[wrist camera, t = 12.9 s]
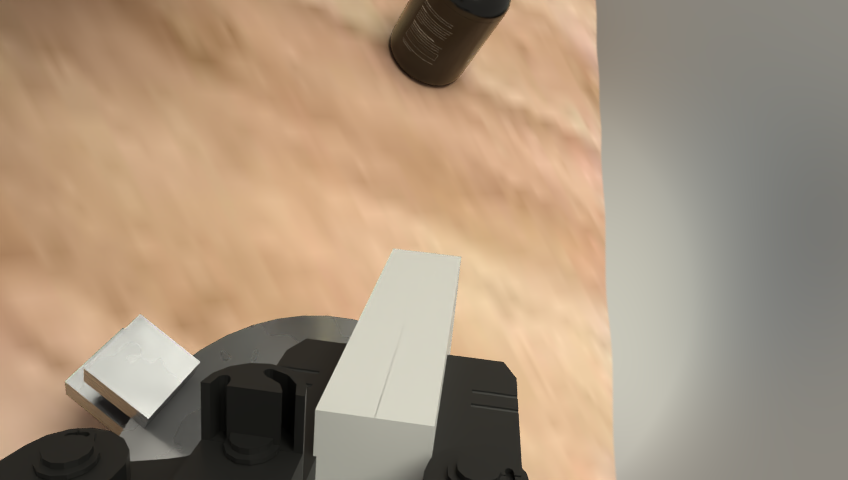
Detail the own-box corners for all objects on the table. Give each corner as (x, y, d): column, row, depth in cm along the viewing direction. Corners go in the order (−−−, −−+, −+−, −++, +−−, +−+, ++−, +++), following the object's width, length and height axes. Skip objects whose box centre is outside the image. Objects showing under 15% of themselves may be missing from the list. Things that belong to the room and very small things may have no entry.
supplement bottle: (471, 89, 56) (551, -13, 47) (401, 88, 53) (472, -21, 43) (446, 25, 58) (517, -85, 49) (377, 20, 55) (440, -99, 45)
